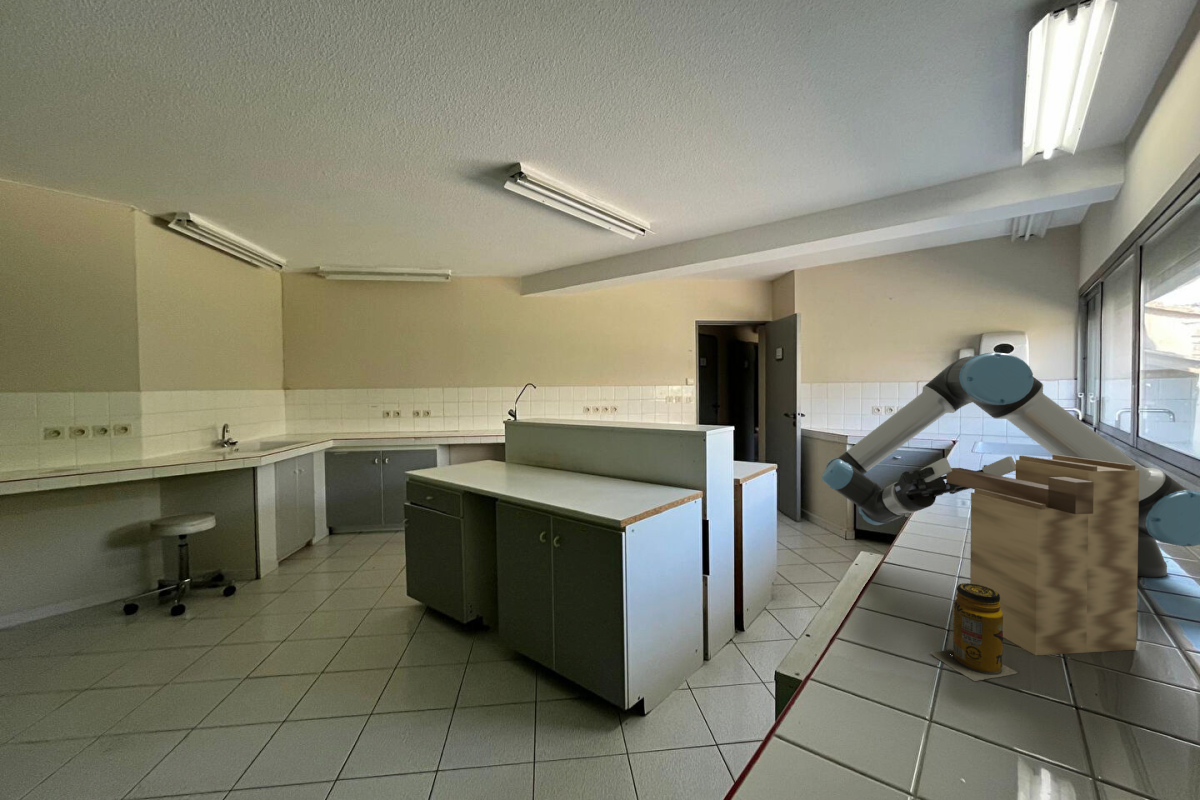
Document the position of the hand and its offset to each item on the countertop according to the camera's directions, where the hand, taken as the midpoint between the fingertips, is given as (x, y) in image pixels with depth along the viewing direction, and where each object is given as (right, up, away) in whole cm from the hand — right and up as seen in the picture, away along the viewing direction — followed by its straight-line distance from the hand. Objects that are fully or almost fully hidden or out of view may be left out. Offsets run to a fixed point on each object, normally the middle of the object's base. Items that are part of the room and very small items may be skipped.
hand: (980, 463), depth 88 cm
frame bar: (+1, -5, -6) cm, 8 cm away
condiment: (-15, -30, -16) cm, 37 cm away
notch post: (+6, -29, -8) cm, 31 cm away
